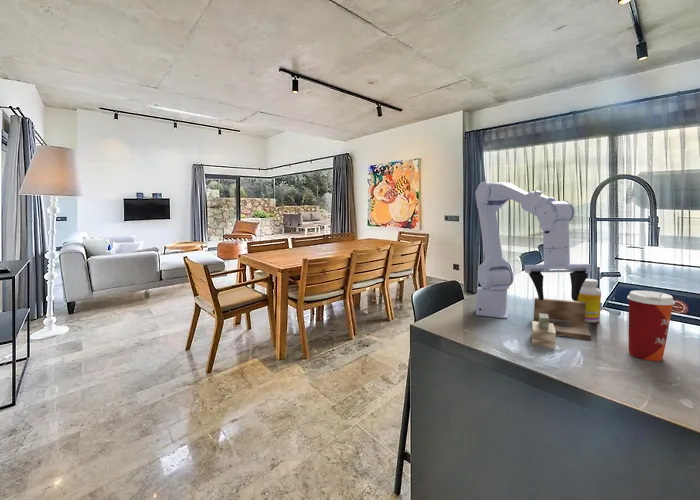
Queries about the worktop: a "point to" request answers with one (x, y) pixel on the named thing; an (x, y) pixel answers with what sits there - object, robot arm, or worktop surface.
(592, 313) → the supplement bottle
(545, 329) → the saddle block
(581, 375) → the worktop surface
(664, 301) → the coffee cup
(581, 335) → the cleat board
